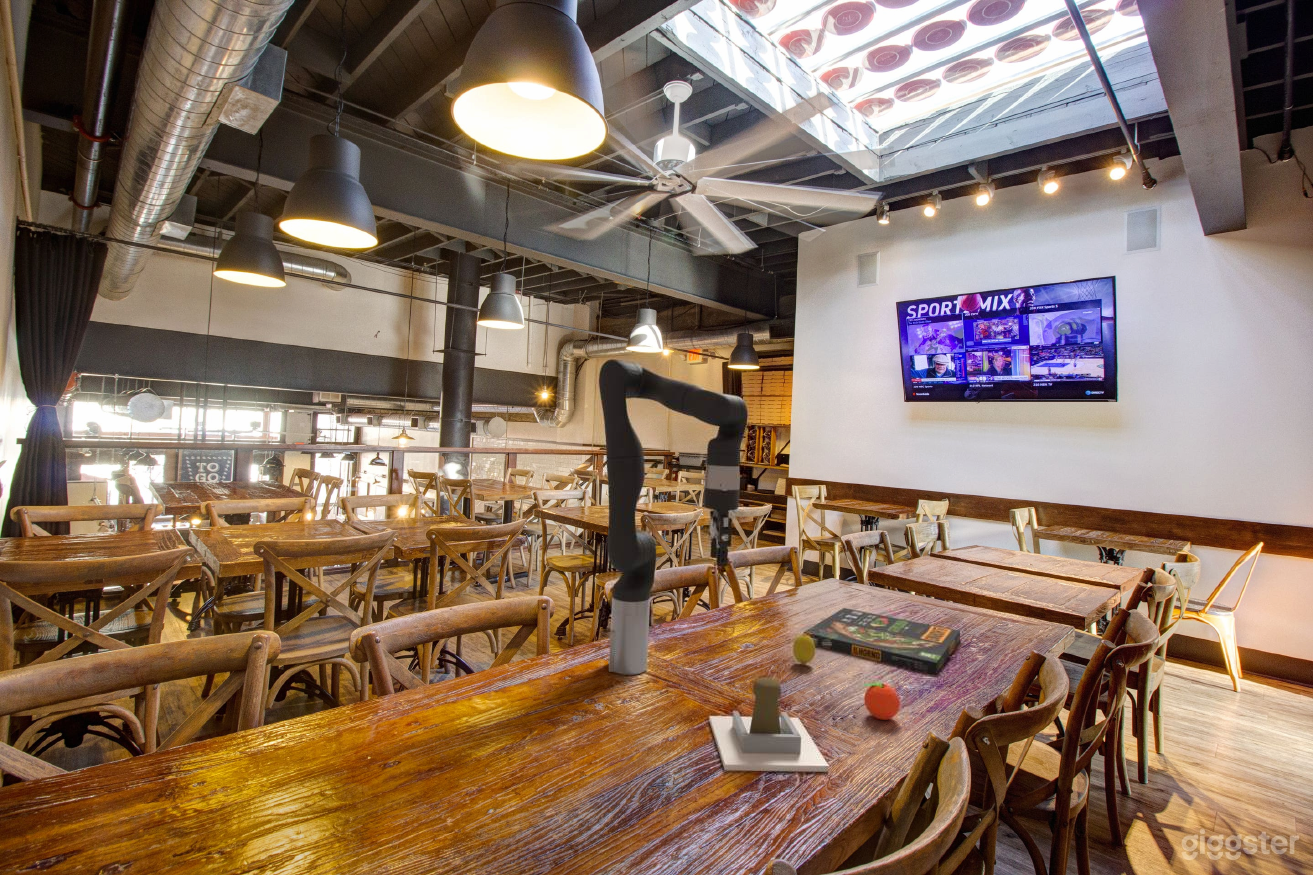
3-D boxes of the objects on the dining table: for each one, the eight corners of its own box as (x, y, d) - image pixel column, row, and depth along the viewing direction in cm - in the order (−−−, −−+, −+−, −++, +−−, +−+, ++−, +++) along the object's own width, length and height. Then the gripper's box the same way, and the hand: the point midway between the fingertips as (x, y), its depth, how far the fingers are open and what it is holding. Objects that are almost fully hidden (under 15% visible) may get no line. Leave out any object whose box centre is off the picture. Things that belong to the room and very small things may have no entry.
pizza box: (843, 618, 200) (843, 607, 200) (959, 642, 179) (960, 630, 179) (803, 644, 171) (803, 631, 171) (935, 676, 151) (936, 662, 151)
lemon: (810, 670, 150) (812, 638, 150) (789, 665, 152) (790, 633, 153) (817, 664, 154) (818, 633, 154) (796, 659, 157) (797, 628, 157)
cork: (784, 736, 113) (786, 677, 113) (777, 750, 107) (780, 689, 107) (752, 728, 115) (755, 671, 115) (744, 742, 110) (747, 682, 110)
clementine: (857, 720, 123) (858, 685, 123) (858, 706, 130) (860, 673, 130) (899, 728, 120) (900, 693, 120) (898, 714, 127) (900, 681, 127)
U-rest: (724, 770, 102) (725, 746, 102) (709, 720, 120) (710, 700, 120) (828, 771, 103) (829, 748, 103) (797, 722, 121) (798, 702, 121)
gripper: (700, 483, 136) (697, 554, 136) (709, 488, 122) (705, 568, 122) (733, 484, 137) (729, 556, 136) (745, 490, 122) (742, 569, 122)
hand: (718, 561), depth 129 cm, fingers open, 8 cm apart
